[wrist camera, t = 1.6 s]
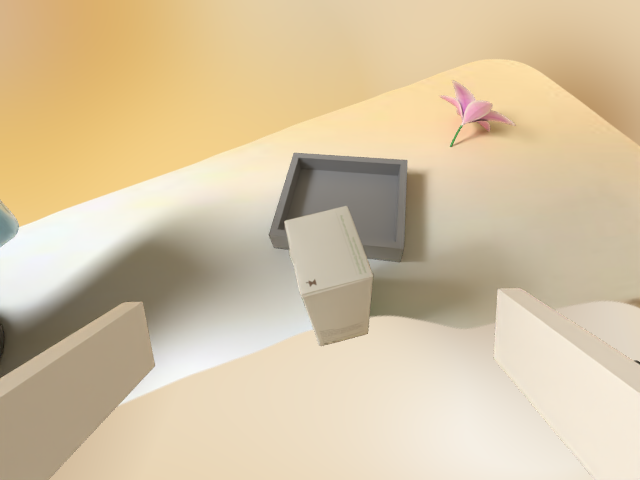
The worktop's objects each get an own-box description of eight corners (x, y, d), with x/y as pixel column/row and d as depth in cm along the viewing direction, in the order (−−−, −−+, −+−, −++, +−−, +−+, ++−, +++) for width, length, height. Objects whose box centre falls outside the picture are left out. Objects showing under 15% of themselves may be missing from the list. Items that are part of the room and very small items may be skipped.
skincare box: (368, 335, 38) (379, 280, 25) (315, 349, 38) (298, 300, 25) (349, 275, 43) (350, 202, 30) (302, 286, 43) (281, 218, 29)
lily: (505, 162, 53) (537, 102, 48) (451, 155, 49) (481, 88, 43) (458, 138, 62) (481, 86, 57) (409, 131, 58) (430, 73, 53)
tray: (273, 247, 46) (268, 234, 43) (296, 168, 54) (293, 152, 51) (400, 262, 43) (403, 249, 40) (404, 176, 52) (407, 160, 49)
